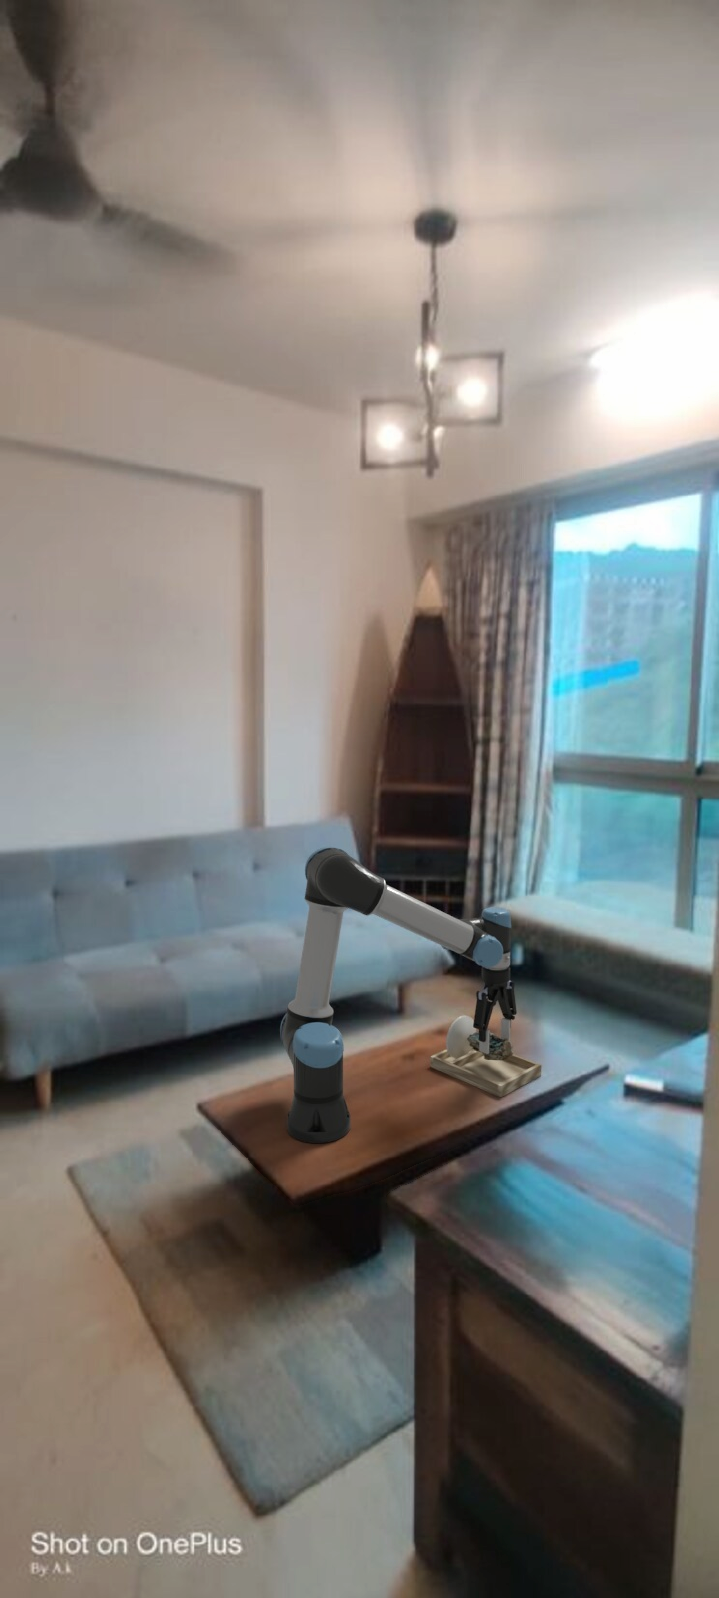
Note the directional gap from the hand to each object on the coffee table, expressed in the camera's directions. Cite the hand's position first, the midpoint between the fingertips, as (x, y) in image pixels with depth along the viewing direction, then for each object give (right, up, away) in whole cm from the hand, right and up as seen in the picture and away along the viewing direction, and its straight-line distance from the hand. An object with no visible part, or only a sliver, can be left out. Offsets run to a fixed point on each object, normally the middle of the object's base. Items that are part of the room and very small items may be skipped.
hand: (495, 1046), depth 213 cm
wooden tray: (-2, -8, +3) cm, 8 cm away
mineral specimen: (-1, -3, +1) cm, 3 cm away
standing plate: (-8, -7, +9) cm, 14 cm away
